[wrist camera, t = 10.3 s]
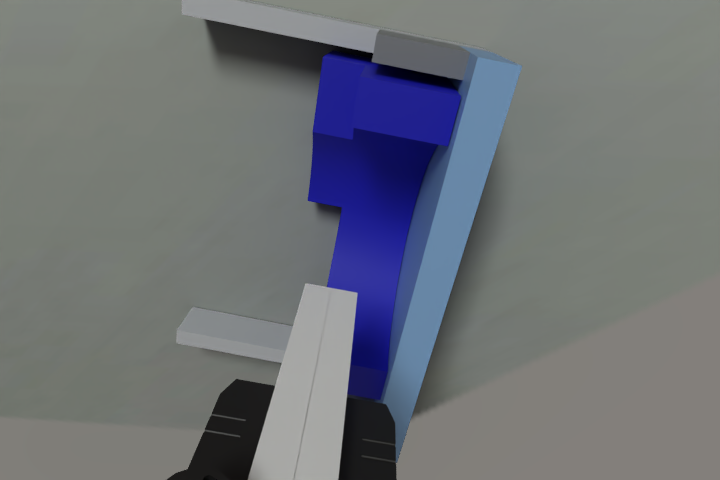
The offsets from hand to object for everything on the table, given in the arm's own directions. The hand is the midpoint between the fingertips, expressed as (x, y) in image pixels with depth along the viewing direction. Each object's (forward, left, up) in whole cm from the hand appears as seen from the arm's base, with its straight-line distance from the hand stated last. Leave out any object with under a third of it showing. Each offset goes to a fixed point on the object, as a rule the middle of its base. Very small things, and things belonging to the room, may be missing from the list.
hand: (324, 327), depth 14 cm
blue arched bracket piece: (0, +1, -9) cm, 9 cm away
